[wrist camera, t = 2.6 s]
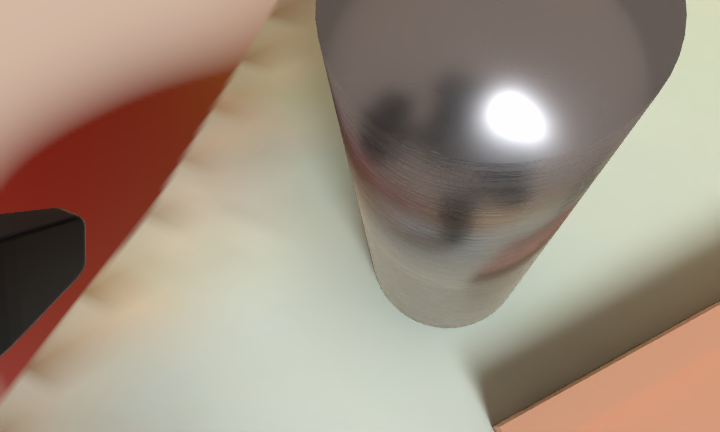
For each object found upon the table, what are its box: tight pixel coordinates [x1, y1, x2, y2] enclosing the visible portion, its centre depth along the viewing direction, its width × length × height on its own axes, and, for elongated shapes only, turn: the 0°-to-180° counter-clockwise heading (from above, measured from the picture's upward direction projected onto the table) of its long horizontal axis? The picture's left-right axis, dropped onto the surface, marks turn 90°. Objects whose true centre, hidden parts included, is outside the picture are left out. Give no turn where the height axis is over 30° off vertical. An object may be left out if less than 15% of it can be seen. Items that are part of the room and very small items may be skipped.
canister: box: [316, 0, 687, 328], centre depth 14 cm, size 5×5×13 cm
